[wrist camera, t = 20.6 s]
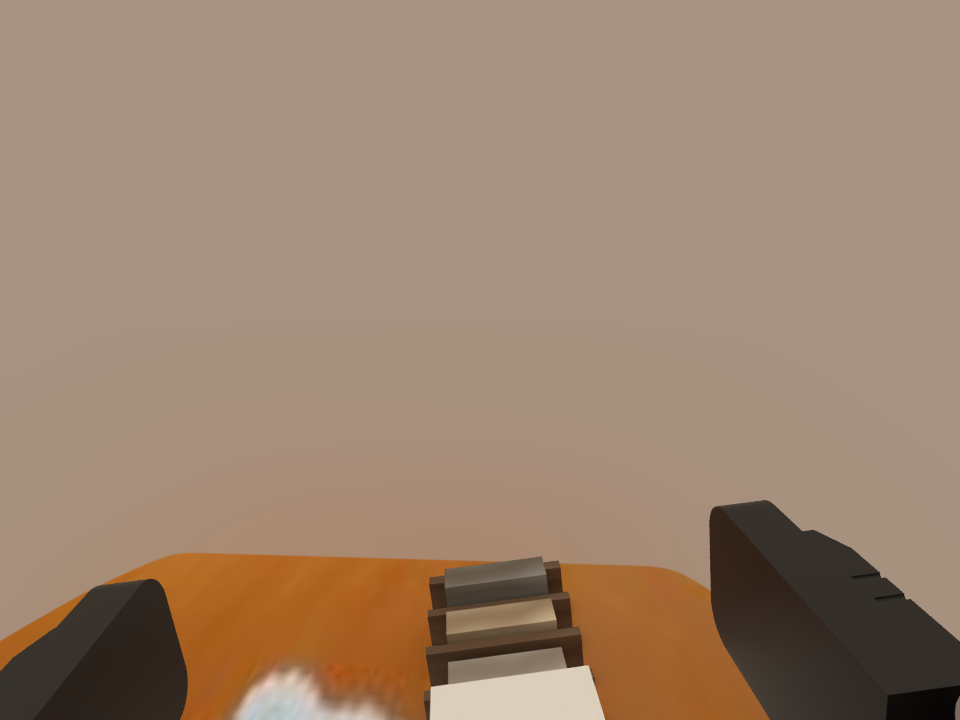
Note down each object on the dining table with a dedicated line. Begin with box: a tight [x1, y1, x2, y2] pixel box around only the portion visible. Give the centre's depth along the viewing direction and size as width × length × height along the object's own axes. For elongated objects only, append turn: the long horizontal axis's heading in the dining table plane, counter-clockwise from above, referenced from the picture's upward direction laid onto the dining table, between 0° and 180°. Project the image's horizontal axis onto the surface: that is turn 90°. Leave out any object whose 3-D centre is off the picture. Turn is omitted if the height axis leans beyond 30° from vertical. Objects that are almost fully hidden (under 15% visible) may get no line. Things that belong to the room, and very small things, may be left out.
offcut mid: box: [446, 598, 557, 644], centre depth 46 cm, size 2×8×4 cm, turn 93°
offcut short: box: [448, 647, 567, 684], centre depth 43 cm, size 2×8×4 cm, turn 93°
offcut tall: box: [445, 557, 548, 608], centre depth 50 cm, size 2×8×6 cm, turn 93°
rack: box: [424, 561, 595, 720], centre depth 44 cm, size 19×11×5 cm, turn 3°
